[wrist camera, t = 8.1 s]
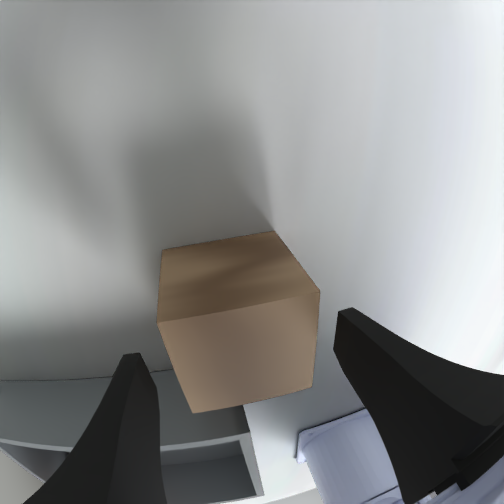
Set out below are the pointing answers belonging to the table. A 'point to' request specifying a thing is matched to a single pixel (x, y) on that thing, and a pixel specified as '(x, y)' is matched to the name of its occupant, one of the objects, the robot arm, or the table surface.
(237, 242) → the walnut cube
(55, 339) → the table surface
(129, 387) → the robot arm
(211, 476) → the tote
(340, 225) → the table surface
